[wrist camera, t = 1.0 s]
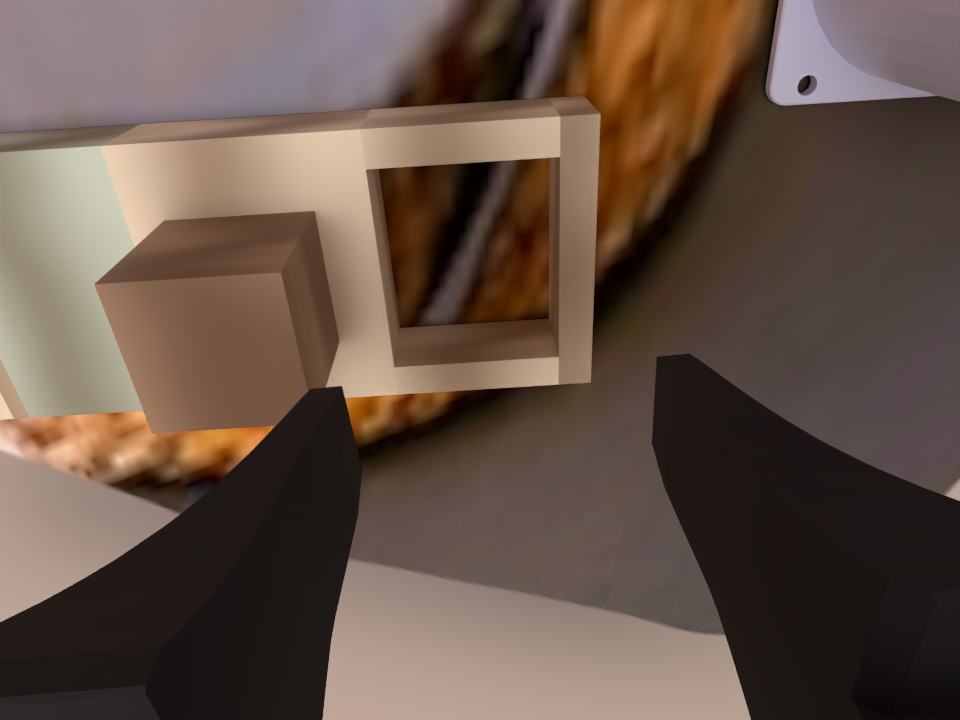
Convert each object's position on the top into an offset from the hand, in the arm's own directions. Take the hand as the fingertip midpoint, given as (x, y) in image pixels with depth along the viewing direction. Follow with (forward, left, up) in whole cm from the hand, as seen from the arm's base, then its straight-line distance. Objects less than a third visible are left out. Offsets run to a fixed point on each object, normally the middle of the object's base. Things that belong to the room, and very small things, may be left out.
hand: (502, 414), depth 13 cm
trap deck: (+9, 0, -9) cm, 13 cm away
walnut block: (+7, 0, -7) cm, 9 cm away
